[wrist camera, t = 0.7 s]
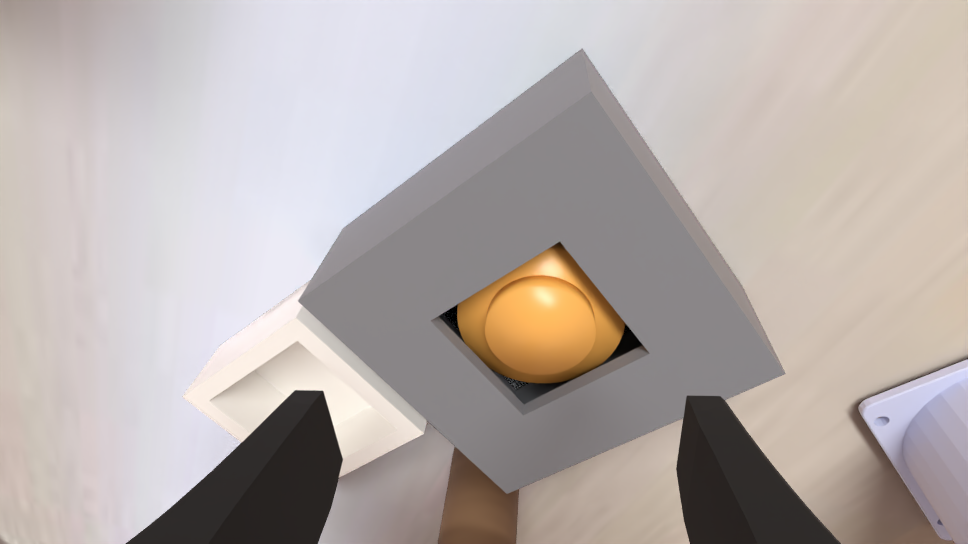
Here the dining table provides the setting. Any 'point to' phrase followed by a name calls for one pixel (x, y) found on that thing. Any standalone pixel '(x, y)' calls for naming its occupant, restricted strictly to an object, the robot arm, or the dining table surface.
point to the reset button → (541, 321)
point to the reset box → (517, 239)
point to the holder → (302, 384)
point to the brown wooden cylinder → (476, 507)
